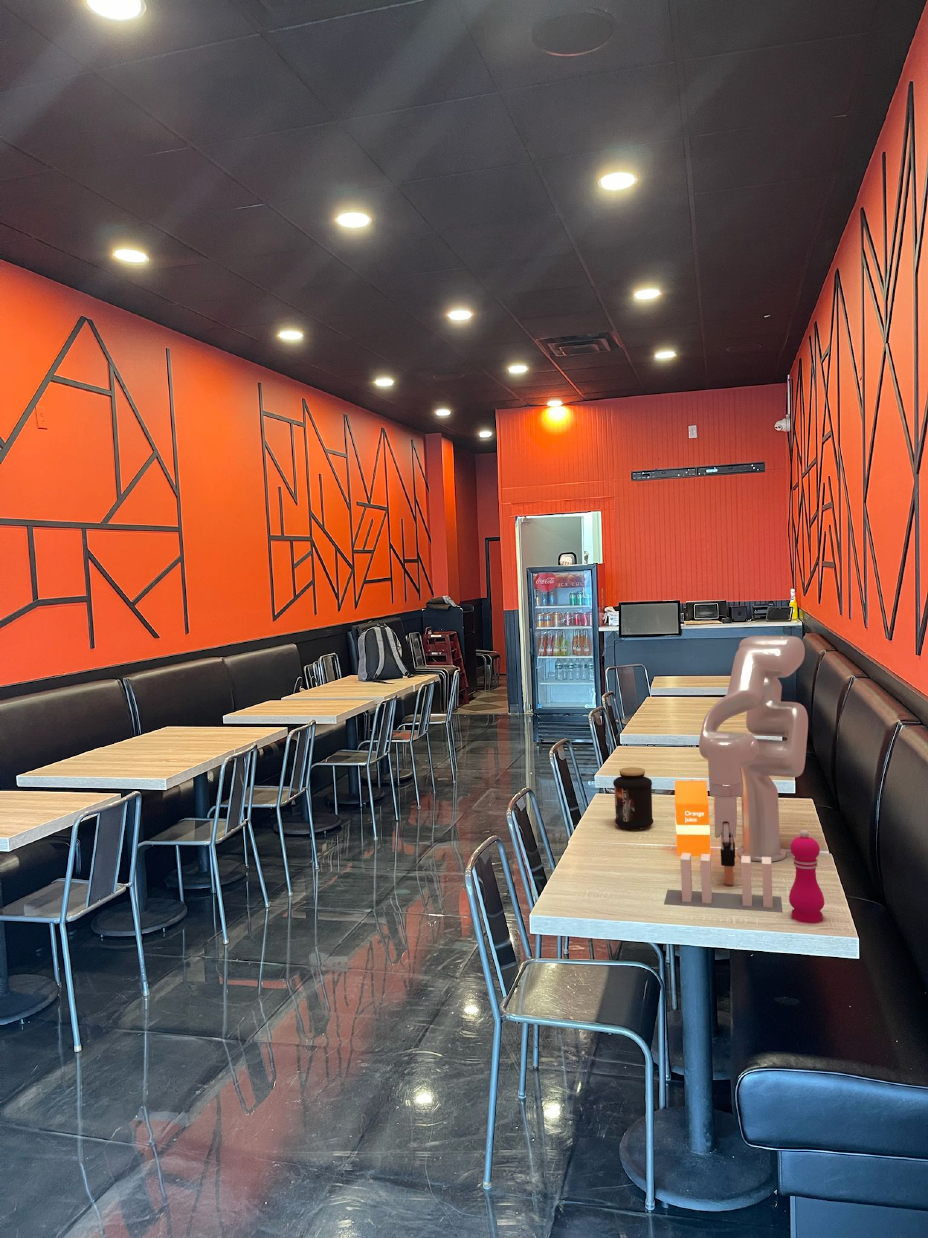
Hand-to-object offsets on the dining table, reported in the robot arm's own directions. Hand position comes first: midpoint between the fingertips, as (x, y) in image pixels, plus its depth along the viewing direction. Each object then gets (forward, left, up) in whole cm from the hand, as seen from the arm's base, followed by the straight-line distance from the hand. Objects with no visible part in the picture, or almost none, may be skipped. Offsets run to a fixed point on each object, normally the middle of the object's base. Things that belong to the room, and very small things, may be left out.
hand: (728, 861), depth 215 cm
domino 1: (+13, -9, -5) cm, 16 cm away
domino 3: (0, 0, -5) cm, 5 cm away
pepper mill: (+20, +17, -6) cm, 27 cm away
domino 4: (+13, +4, -5) cm, 14 cm away
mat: (+13, -1, -6) cm, 14 cm away
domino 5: (+13, +9, -5) cm, 16 cm away
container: (-47, -29, -6) cm, 56 cm away
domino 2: (+13, -5, -5) cm, 14 cm away
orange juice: (-25, -10, -6) cm, 28 cm away
